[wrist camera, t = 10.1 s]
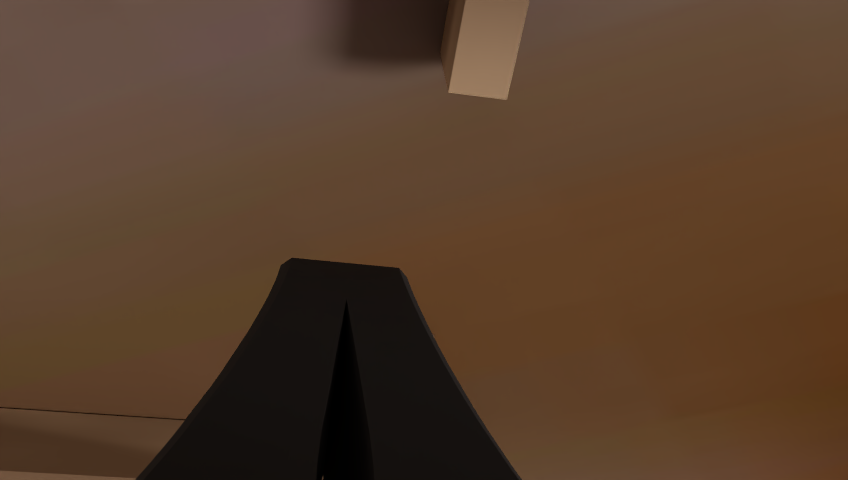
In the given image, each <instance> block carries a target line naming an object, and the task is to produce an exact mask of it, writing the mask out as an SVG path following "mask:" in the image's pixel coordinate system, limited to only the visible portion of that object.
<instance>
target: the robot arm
mask: <svg viewBox="0 0 848 480" xmlns="http://www.w3.org/2000/svg"><path fill="white" fill-rule="evenodd" d="M322 478H323V480H522V479H521V478H520V477H519V475H518V474H517V472H516V471H515V470H514V468H513V467H512V465H511V464H510V462H509V461H508V459H507V458H506V457H505V455H504V454H503V452H502V451H501V449H500V448H499V446H498V445H497V443H496V442H495V440H494V439H493V437H492V436H491V434H490V433H489V431H488V430H487V428H486V427H485V425H484V423H483V422H482V420H481V419H480V417H479V416H478V414H477V412H476V411H475V409H474V408H473V406H472V404H471V403H470V401H469V399H468V397H467V396H466V394H465V392H464V391H463V389H462V387H461V385H460V384H459V382H458V380H457V379H456V377H455V375H454V373H453V372H452V370H451V368H450V367H449V365H448V363H447V361H446V359H445V357H444V356H443V354H442V352H441V350H440V348H439V346H438V344H437V342H436V340H435V339H434V337H433V335H432V333H431V331H430V329H429V327H428V325H427V323H426V321H425V319H424V316H423V314H422V312H421V310H420V308H419V306H418V303H417V301H416V299H415V297H414V294H413V292H412V290H411V287H410V285H409V282H408V279H407V277H406V276H405V275H404V273H403V272H402V271H401V270H400V269H399V268H393V267H383V266H372V265H362V264H351V263H341V262H330V261H320V260H309V259H299V258H291V259H289V260H288V261H286V262H285V263H284V264H282V265H281V266H280V270H279V273H278V276H277V278H276V281H275V283H274V285H273V287H272V289H271V292H270V294H269V296H268V298H267V299H266V301H265V303H264V305H263V307H262V309H261V310H260V312H259V314H258V316H257V317H256V319H255V321H254V322H253V324H252V326H251V328H250V329H249V331H248V333H247V334H246V336H245V337H244V339H243V340H242V342H241V343H240V345H239V346H238V348H237V349H236V351H235V352H234V354H233V355H232V357H231V358H230V360H229V361H228V363H227V364H226V366H225V367H224V369H223V370H222V372H221V373H220V375H219V376H218V377H217V379H216V380H215V382H214V383H213V384H212V386H211V387H210V388H209V390H208V391H207V392H206V394H205V395H204V396H203V397H202V399H201V400H200V401H199V403H198V404H197V405H196V406H195V408H194V409H193V410H192V412H191V413H190V414H189V415H188V417H187V418H186V419H185V421H184V422H183V423H182V425H181V426H180V427H179V428H178V430H177V431H176V432H175V434H174V435H173V436H172V437H171V439H170V440H169V441H168V442H167V443H166V445H165V446H164V447H163V448H162V449H161V450H160V452H159V453H158V454H157V455H156V456H155V457H154V459H153V460H152V461H151V462H150V463H149V465H148V466H147V467H146V468H145V469H144V470H143V471H142V472H141V474H140V475H139V476H138V477H137V478H136V479H135V480H322Z"/></svg>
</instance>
